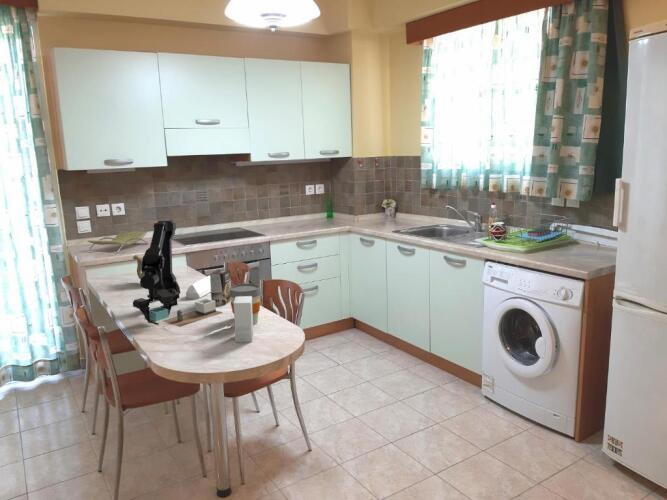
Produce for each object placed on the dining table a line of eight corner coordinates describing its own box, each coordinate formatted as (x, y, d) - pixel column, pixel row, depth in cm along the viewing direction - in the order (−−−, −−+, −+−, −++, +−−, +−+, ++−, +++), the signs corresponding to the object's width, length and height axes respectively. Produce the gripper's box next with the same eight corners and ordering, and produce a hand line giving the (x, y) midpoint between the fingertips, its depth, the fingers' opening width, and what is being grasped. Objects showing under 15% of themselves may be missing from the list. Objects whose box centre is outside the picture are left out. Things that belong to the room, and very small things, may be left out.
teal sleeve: (148, 321, 221) (147, 310, 220) (160, 318, 225) (159, 306, 224) (156, 324, 217) (155, 312, 216) (169, 320, 222) (168, 309, 221)
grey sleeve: (195, 313, 226) (194, 302, 225) (206, 309, 231) (206, 298, 230) (204, 315, 222) (203, 304, 221) (215, 312, 227) (215, 300, 226)
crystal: (203, 279, 275) (179, 291, 252) (214, 272, 273) (191, 284, 250) (211, 291, 276) (187, 304, 253) (221, 285, 273) (199, 298, 251)
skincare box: (237, 335, 203) (234, 296, 200) (254, 334, 204) (252, 295, 201) (235, 343, 195) (232, 302, 192) (253, 342, 196) (251, 301, 192)
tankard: (171, 283, 283) (168, 255, 280) (151, 288, 273) (149, 260, 270) (146, 278, 294) (144, 252, 291) (126, 284, 283) (124, 256, 280)
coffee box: (224, 309, 236) (222, 273, 233) (211, 308, 238) (209, 273, 234) (232, 303, 245) (230, 269, 242) (219, 302, 246) (217, 268, 243)
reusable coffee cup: (248, 329, 209) (246, 293, 206) (224, 324, 215) (222, 289, 212) (268, 320, 219) (266, 285, 216) (245, 316, 226) (243, 282, 223)
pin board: (162, 324, 217) (161, 310, 216) (205, 310, 234) (204, 297, 233) (180, 330, 210) (179, 315, 209) (223, 315, 227) (222, 302, 226)
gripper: (146, 290, 206) (149, 329, 209) (186, 280, 220) (188, 316, 223) (130, 286, 213) (134, 323, 216) (170, 277, 227) (172, 311, 230)
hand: (158, 318), depth 221 cm, fingers open, 9 cm apart
